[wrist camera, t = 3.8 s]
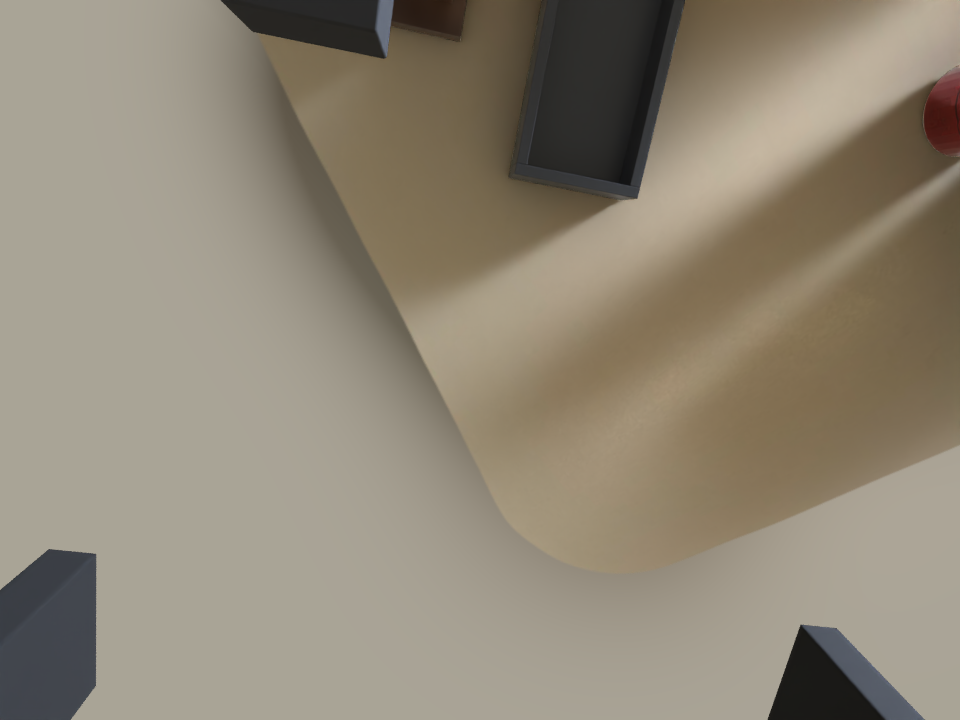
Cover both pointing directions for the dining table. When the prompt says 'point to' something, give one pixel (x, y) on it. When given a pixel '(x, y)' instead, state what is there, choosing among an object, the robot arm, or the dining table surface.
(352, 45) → the black box
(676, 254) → the dining table surface
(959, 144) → the soda can
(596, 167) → the dark gray rectangular tray
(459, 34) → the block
